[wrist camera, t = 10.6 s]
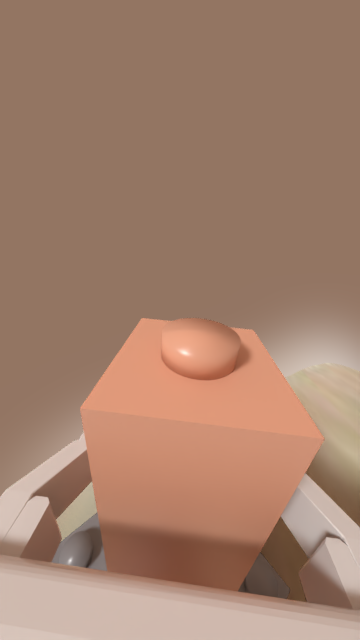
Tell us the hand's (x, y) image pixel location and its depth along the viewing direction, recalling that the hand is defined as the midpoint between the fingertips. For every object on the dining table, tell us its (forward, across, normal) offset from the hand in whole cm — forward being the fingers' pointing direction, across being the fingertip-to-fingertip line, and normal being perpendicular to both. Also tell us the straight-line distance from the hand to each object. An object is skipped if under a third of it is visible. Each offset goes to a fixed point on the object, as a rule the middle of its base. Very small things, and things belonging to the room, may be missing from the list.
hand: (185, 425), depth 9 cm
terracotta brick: (-1, 0, +6) cm, 6 cm away
